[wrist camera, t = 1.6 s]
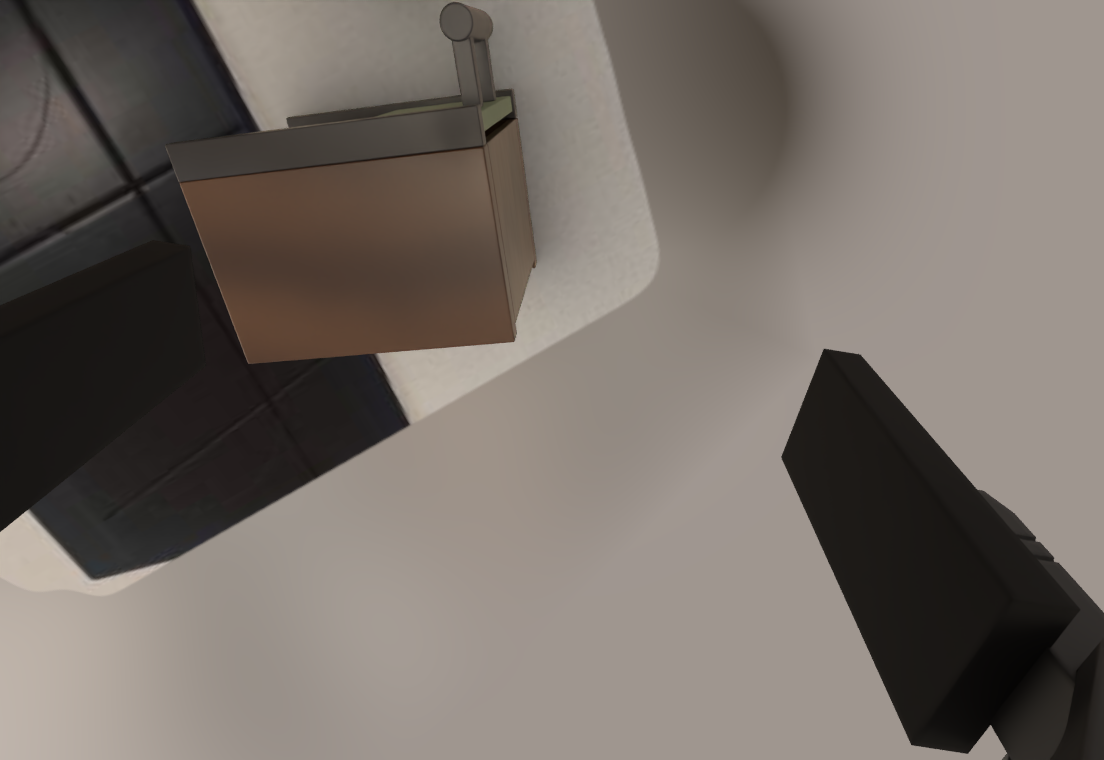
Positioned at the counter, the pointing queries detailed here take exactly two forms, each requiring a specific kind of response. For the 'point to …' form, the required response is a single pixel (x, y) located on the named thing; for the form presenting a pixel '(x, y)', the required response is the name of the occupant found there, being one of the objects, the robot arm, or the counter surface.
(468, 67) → the sliding door
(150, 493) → the counter surface
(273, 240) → the cabinet
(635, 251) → the counter surface
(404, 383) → the counter surface
